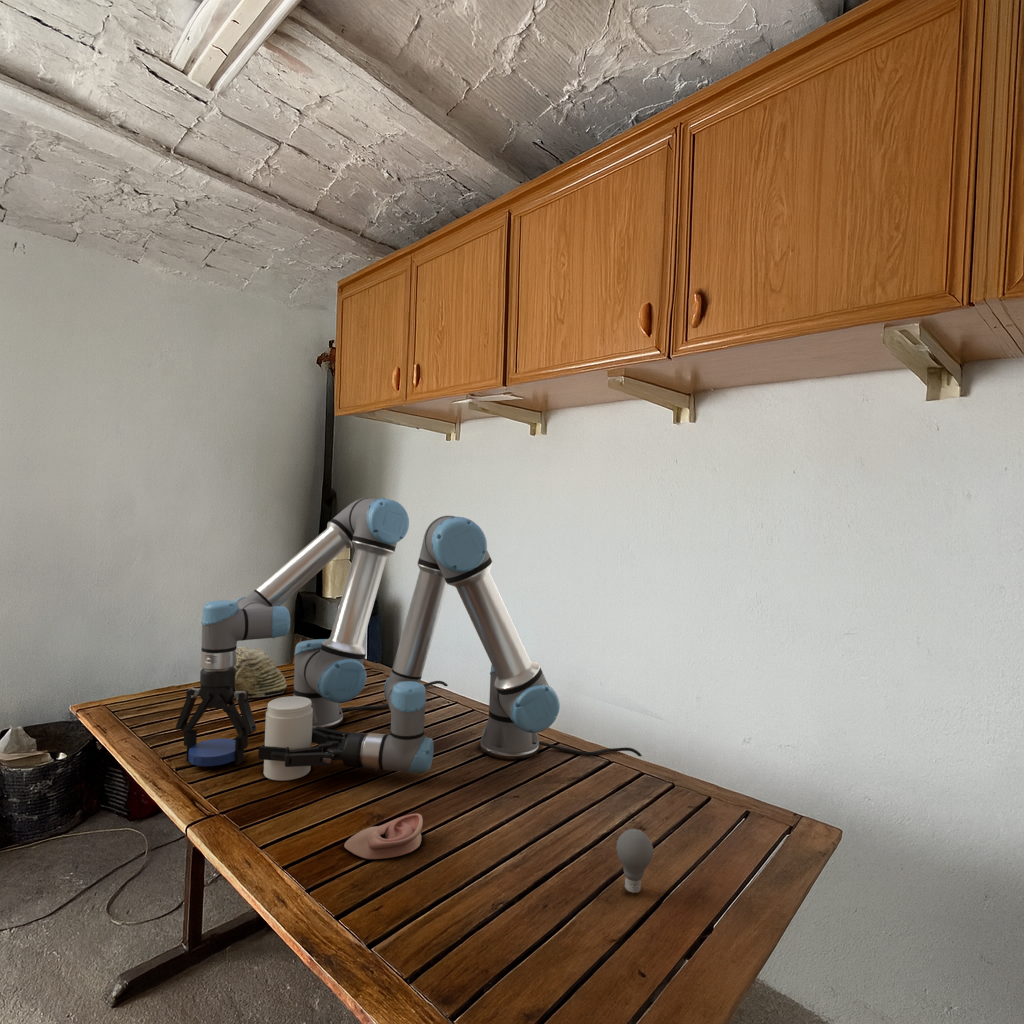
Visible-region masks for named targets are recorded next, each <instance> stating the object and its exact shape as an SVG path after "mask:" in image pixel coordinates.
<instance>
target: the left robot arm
mask: <svg viewBox="0 0 1024 1024" xmlns="http://www.w3.org/2000/svg"><path fill="white" fill-rule="evenodd" d="M409 518H410V517H409V514H408V512H407V511H406V509H405V507H404V506H403V505H402V504H401V503H400V502H398V501H396V500H393V499H390V498H385V497H381V498H373V497H362V498H358V499H356V500H354V501H352V502H351V503H350V504H348V505H347V506H346V507H345V508H343V509H342V510H341V511H340V512H339V513H338V514H336V515H335V516H334V517H333V518H332V519H330V520H329V521H328V522H327V526H326V528H325V530H323V531H322V532H321V533H319V535H317V536H316V537H315V538H314V539H313V540H311V541H310V542H309V543H308V544H307V545H305V547H303V548H302V549H301V550H299V552H298V553H296V554H295V555H294V556H293V557H292V558H290V560H288V561H287V562H286V563H284V565H282V566H281V567H280V568H279V569H277V571H275V572H274V573H273V574H272V575H271V576H269V577H268V578H267V579H266V580H265V581H263V582H262V583H261V584H260V585H259V586H258V587H256V588H255V589H253V591H251V592H250V593H249V594H248V595H247V596H242V597H239V598H237V599H235V600H224V599H223V600H221V599H220V600H219V599H218V600H212V601H208V602H206V603H205V604H204V605H203V609H202V616H201V617H202V618H201V622H200V623H201V649H200V668H201V670H200V672H199V673H200V674H199V685H200V686H199V688H197V687H196V686H193V687H191V688H189V689H187V690H186V692H185V701H184V704H183V706H182V709H181V711H180V714H179V717H178V719H177V722H176V725H175V729H176V730H177V731H182V732H183V746H184V747H186V756H185V762H189V759H188V752H189V749H190V748H191V747H192V746H193V745H195V744H197V741H198V740H197V738H198V737H197V736H198V730H197V729H195V727H196V725H197V724H198V722H199V721H200V720H201V718H202V717H203V715H204V714H205V713H206V711H207V710H208V709H216V710H217V709H218V710H222V711H223V712H224V713H226V715H227V717H228V719H229V721H230V722H231V724H232V726H233V727H234V729H235V731H236V732H237V734H238V735H237V736H235V740H236V741H235V760H234V766H239V765H240V764H242V762H244V755H245V749H247V748H248V746H249V745H248V743H249V741H248V740H249V736H250V735H252V734H253V733H254V732H256V731H257V725H256V722H255V719H254V714H253V712H252V709H251V708H252V707H251V705H250V702H249V698H248V691H247V690H244V691H236V689H235V676H236V669H235V667H234V666H235V665H236V649H237V648H238V646H237V644H238V642H239V641H242V642H243V641H252V640H262V639H263V640H265V639H275V638H282V637H286V636H287V635H288V633H289V631H290V628H291V616H290V610H289V609H288V608H287V607H286V606H284V603H286V601H287V600H288V599H291V597H292V596H293V595H294V594H296V592H298V591H299V590H300V589H301V588H302V587H303V586H304V585H306V584H307V583H308V582H309V581H310V580H311V579H312V578H314V577H315V576H316V575H317V574H319V572H321V571H322V570H323V569H324V568H325V567H326V566H327V565H328V564H330V563H331V562H332V561H333V560H334V559H335V558H336V557H337V556H339V555H340V554H341V553H342V552H343V551H344V550H345V549H352V548H353V547H354V549H355V550H354V553H353V556H352V561H351V564H350V567H349V571H348V574H347V578H346V581H345V583H344V584H345V585H344V588H343V592H342V595H341V599H340V602H339V605H338V608H337V612H336V615H335V619H334V623H333V625H332V626H333V627H332V629H331V633H330V636H329V638H323V639H322V638H319V639H307V640H303V641H299V642H297V644H296V645H295V650H294V653H293V654H294V655H293V656H294V672H293V696H299V697H305V698H308V699H310V700H311V702H312V705H311V707H312V709H313V718H312V729H314V730H315V727H322V728H326V729H331V730H334V729H335V728H337V727H339V726H340V725H342V723H343V722H344V714H343V712H348V711H349V712H350V711H360V710H362V711H363V710H379V709H386V708H389V705H388V703H385V704H384V703H383V704H379V705H378V704H377V705H360V706H359V705H358V706H346V707H345V706H344V707H342V706H341V704H342V703H347V702H350V701H351V700H353V699H355V698H356V697H358V696H359V695H360V693H361V692H362V691H363V689H364V687H365V685H366V683H367V671H366V668H365V666H364V662H365V659H366V655H367V652H366V650H365V647H364V646H363V645H364V644H363V643H364V640H365V636H366V633H367V630H368V626H369V622H370V618H371V615H372V612H373V608H374V605H375V601H376V598H377V594H378V592H379V591H378V590H379V588H380V584H381V580H382V576H383V573H384V570H385V566H386V562H387V559H388V558H389V557H390V556H391V555H394V554H395V551H396V548H397V544H398V543H399V542H400V541H402V540H403V539H404V538H405V537H406V535H407V533H408V531H409V527H410V519H409ZM422 684H423V685H424V687H425V688H426V687H430V686H432V685H438V684H439V685H443V686H444V687H448V686H449V684H447V682H445V681H444V680H443V681H442V680H433V681H430V682H426V683H422ZM198 697H200V699H201V700H202V701H201V702H200V703H199V704H198V706H197V709H196V710H195V712H194V713H193V715H192V716H191V714H192V711H193V709H194V707H195V703H196V701H197V698H198ZM234 697H236V698H234ZM234 699H235V700H236V702H237V704H238V708H239V710H238V708H237V705H236V703H235V701H234ZM190 716H191V718H190ZM189 763H190V762H189Z"/></svg>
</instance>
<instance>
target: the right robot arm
mask: <svg viewBox="0 0 1024 1024" xmlns="http://www.w3.org/2000/svg"><path fill="white" fill-rule="evenodd" d="M492 566H493V560H492V558H491V555H490V553H489V551H488V541H487V537H486V535H485V533H484V531H483V529H482V528H481V527H480V526H479V525H478V524H477V523H476V522H474V521H473V520H471V519H470V518H467V517H464V516H455V515H442V516H439V517H437V518H435V519H434V520H432V521H431V522H430V524H429V525H428V527H427V528H426V529H425V532H424V535H423V539H422V543H421V548H420V553H419V557H418V559H417V567H418V569H419V572H418V575H417V579H416V583H415V586H414V590H413V593H412V598H411V600H410V604H409V607H408V610H407V615H406V618H405V621H404V625H403V629H402V632H401V635H400V640H399V642H398V646H397V650H396V654H395V657H394V660H393V664H392V667H391V671H390V674H389V676H388V677H387V679H386V681H385V683H384V686H383V693H384V698H385V699H386V701H387V704H388V705H389V707H388V708H389V711H390V734H386V733H376V732H375V733H374V732H369V733H366V732H359V731H357V732H356V731H339V730H336V729H326V728H322V727H315V730H314V729H312V744H316V745H317V746H311V747H310V748H302V749H294V750H289V747H287V748H282V747H269V746H265V745H259V746H258V750H257V752H258V753H257V759H258V760H261V761H262V760H263V761H264V760H274V761H285V767H298V766H311V767H316V766H318V767H319V766H320V767H321V766H322V767H332V765H333V761H338V760H339V761H342V762H343V766H345V767H346V768H353V769H354V768H355V769H360V768H363V769H369V770H374V771H375V772H377V771H379V770H382V771H394V772H404V773H408V774H411V773H414V774H415V773H416V774H417V773H418V774H420V773H427V772H428V771H429V770H430V769H431V767H432V764H433V759H434V752H435V751H434V750H435V747H434V746H435V745H434V740H433V739H432V737H427V736H425V717H426V703H427V698H426V687H424V685H423V684H424V683H421V680H422V677H423V674H424V669H425V665H426V662H427V660H428V656H429V652H430V648H431V645H432V641H433V638H434V634H435V631H436V628H437V624H438V620H439V616H440V613H441V610H442V606H443V603H444V599H445V595H446V592H447V588H448V585H449V586H452V587H454V588H456V591H457V593H458V595H459V597H460V600H461V601H462V604H463V606H464V608H465V609H466V612H467V614H468V617H469V618H470V621H471V623H472V625H473V627H474V630H475V631H476V634H477V636H478V638H479V640H480V642H481V644H482V646H483V648H484V651H485V653H486V655H487V657H488V659H489V661H490V663H491V665H490V672H489V675H490V677H489V699H488V700H489V701H488V703H489V704H488V717H487V718H488V719H487V722H486V724H485V726H484V727H483V729H482V734H481V738H480V745H479V747H480V750H481V751H482V752H483V753H484V754H486V755H488V756H490V757H493V758H496V759H500V760H509V761H510V760H513V761H514V760H523V759H528V758H531V757H534V756H536V755H537V754H538V753H539V751H540V746H543V747H546V748H547V747H548V748H551V749H554V750H558V751H561V752H567V753H571V754H575V755H580V756H596V755H600V754H604V753H611V752H612V753H614V752H631V753H634V754H635V755H637V756H638V757H643V755H642V753H640V752H639V751H638V749H635V748H633V747H627V746H626V747H613V748H611V747H610V748H603V749H602V748H601V749H599V750H594V751H585V750H584V751H583V750H577V749H576V750H575V749H571V748H568V747H562V746H559V745H555V744H552V743H547V742H544V741H540V739H539V735H538V733H541V732H543V731H546V730H547V729H548V728H550V727H551V726H552V725H553V724H554V723H555V722H556V720H557V717H558V715H559V713H560V707H561V706H560V705H561V702H560V699H559V696H558V693H557V692H556V691H555V689H554V688H553V687H551V686H550V685H549V683H548V680H547V679H546V677H545V675H544V672H543V670H542V668H541V666H540V664H539V663H538V662H537V661H535V660H532V659H531V658H530V657H529V654H528V653H527V651H526V648H525V645H524V644H523V642H522V639H521V637H520V635H519V633H518V630H517V628H516V626H515V624H514V621H513V619H512V617H511V615H510V613H509V611H508V608H507V606H506V604H505V602H504V600H503V598H502V596H501V594H500V590H499V589H498V587H497V584H496V583H495V580H494V578H493V576H492V573H491V568H492Z"/></svg>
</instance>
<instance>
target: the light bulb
mask: <svg viewBox="0 0 1024 1024" xmlns="http://www.w3.org/2000/svg"><path fill="white" fill-rule="evenodd" d="M615 849H616V854H617V857H618V859H619V861H620V863H621V865H622V867H623V873H624V874H623V875H624V876H625V878H624V888H625V890H627V891H628V892H630V893H634V894H635V893H639V892H640V891H641V889H642V887H641V886H642V879H643V877H644V875H645V871H646V868H647V867H648V866H649V864H650V863H651V861H652V859H653V855H654V847H653V843H652V841H651V838H649V836H648V835H647V834H646V833H645V832H643V831H642V830H641V829H636V828H629V829H627V830H625V831H623V832H622V833H621V834H620V835H619V837H618V839H617V841H616V847H615Z"/></svg>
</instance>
